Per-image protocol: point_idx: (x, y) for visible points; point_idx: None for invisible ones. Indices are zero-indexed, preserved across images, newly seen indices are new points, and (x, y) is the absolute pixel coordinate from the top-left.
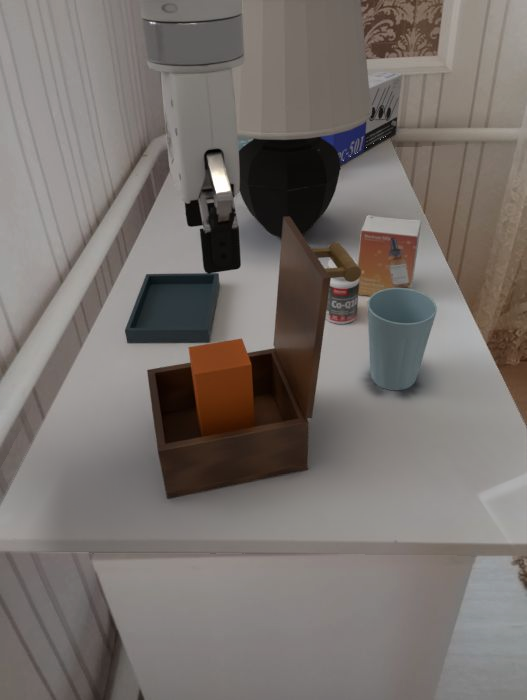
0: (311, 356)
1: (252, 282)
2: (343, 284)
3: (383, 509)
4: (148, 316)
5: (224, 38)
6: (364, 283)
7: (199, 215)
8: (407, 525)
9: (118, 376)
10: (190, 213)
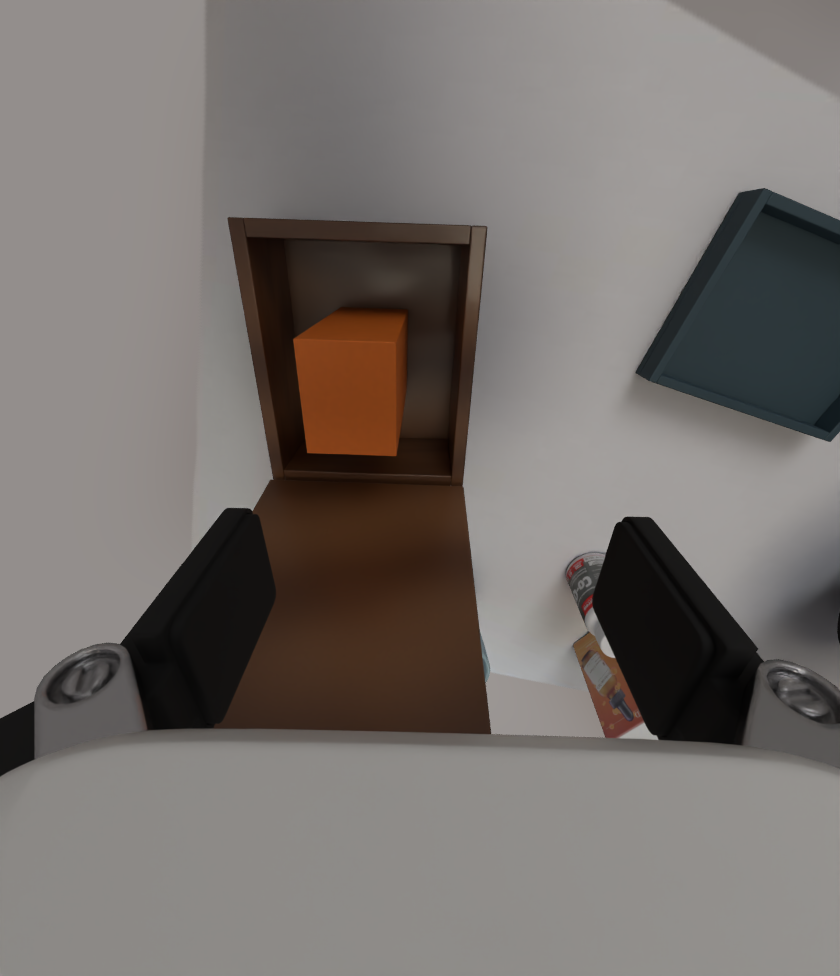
0: None
1: (768, 486)
2: (591, 617)
3: (232, 494)
4: (800, 259)
5: None
6: None
7: (622, 581)
8: (210, 507)
9: (628, 156)
10: (640, 562)
